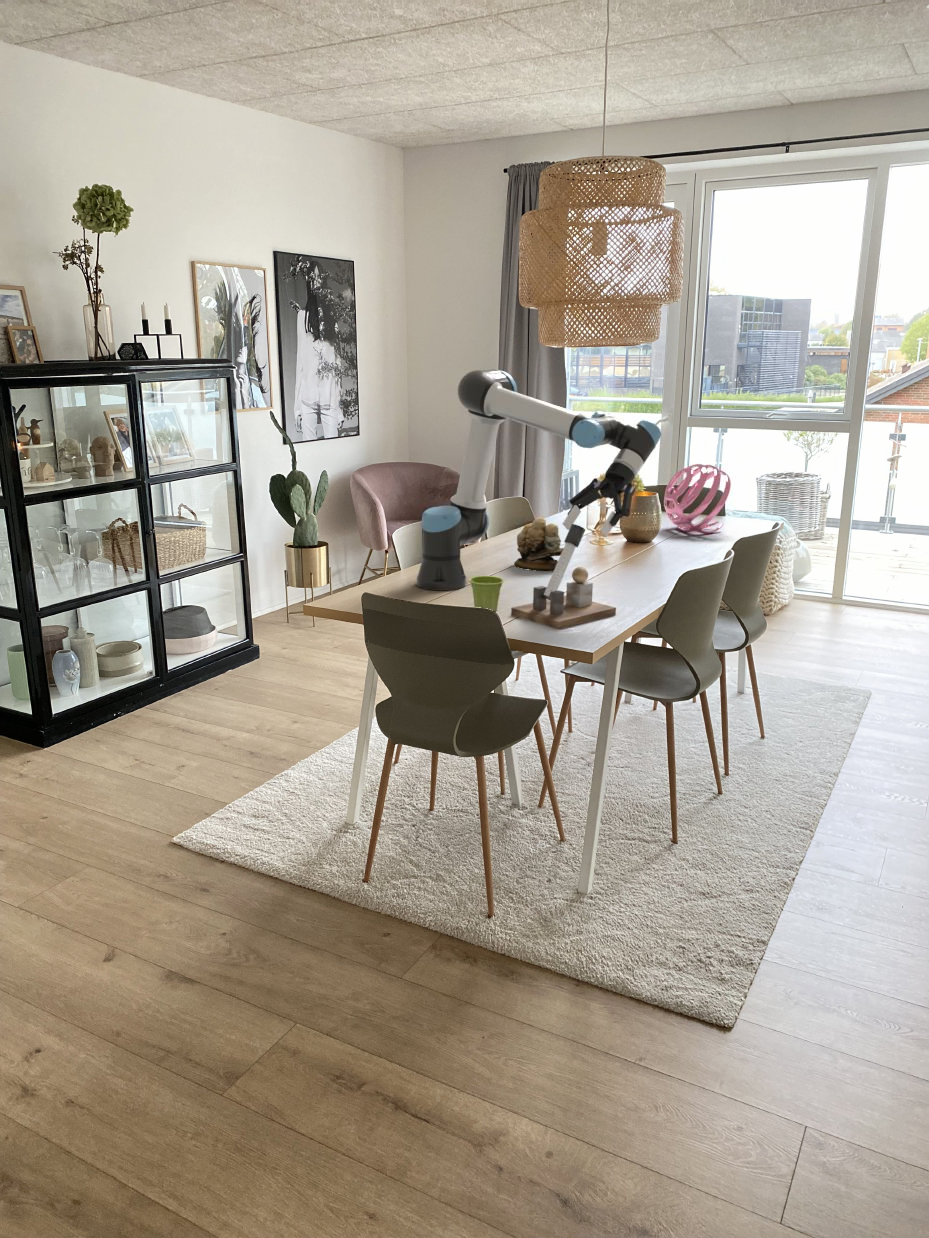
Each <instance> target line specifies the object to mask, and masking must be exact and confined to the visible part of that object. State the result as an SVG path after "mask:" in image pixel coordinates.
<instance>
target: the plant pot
mask: <svg viewBox="0 0 929 1238" xmlns="http://www.w3.org/2000/svg"><path fill="white" fill-rule="evenodd" d="M469 582H470V584H471V585H470V586H471V588H472V595H473V602H474V608H475V607H481V608H488V609H491V610H493V612H496V611H497V610H498V606H499V599H500V592H501V588H502V585H503V583H504V578H501V577H498V576H492V575H479V576H473V577H470V578H469Z"/></svg>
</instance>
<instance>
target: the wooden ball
mask: <svg viewBox="0 0 929 1238" xmlns="http://www.w3.org/2000/svg"><path fill="white" fill-rule="evenodd" d="M571 578H572V581H575V582H577V583H583V582H585V581H586V582H587V580H588V578H589V572H588V569H586V568H584V567H582V566H578V567H575V568H574V569H573V570H572V572H571Z"/></svg>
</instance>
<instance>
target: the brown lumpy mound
mask: <svg viewBox="0 0 929 1238" xmlns="http://www.w3.org/2000/svg"><path fill="white" fill-rule="evenodd" d="M546 522H547V521H546V519H545V518H544V517H542V516H538V517H536V518H534V520H533V521H531V523H526V524H525V525H524V527H523V528H522V530H521V531H520V532H519V533H518V534H517V535H516V545H517V549H516V550H517V551H518V553H519V555H520V557H519V558H517V560H516V561H514V562H513V566H514V565H515V566H516V567H515V566H514V567H515V568H517V567H519V568H518V569H521V568H522V569H521V570H525V569H529V570H528V571H533V570H536V571H535V572H554V569H555V567H556V565H557V563H558V559H554V557H560V556H561V553H562V551H563V549H564V547H560V546H561V542H562V540H561V538H560V535H559V533H560V532H559V526H558V525H557V524H555V523H549V524H546Z"/></svg>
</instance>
